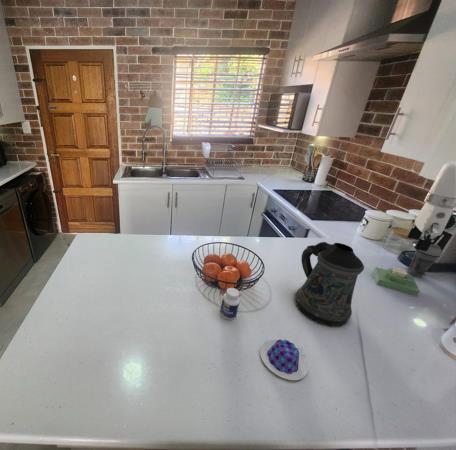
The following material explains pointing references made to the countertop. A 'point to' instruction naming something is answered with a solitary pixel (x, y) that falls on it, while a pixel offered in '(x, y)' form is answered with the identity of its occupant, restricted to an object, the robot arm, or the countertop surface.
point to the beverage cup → (424, 259)
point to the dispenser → (395, 281)
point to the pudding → (283, 359)
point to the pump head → (399, 272)
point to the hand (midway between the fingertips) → (416, 243)
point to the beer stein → (328, 283)
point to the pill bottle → (230, 304)
